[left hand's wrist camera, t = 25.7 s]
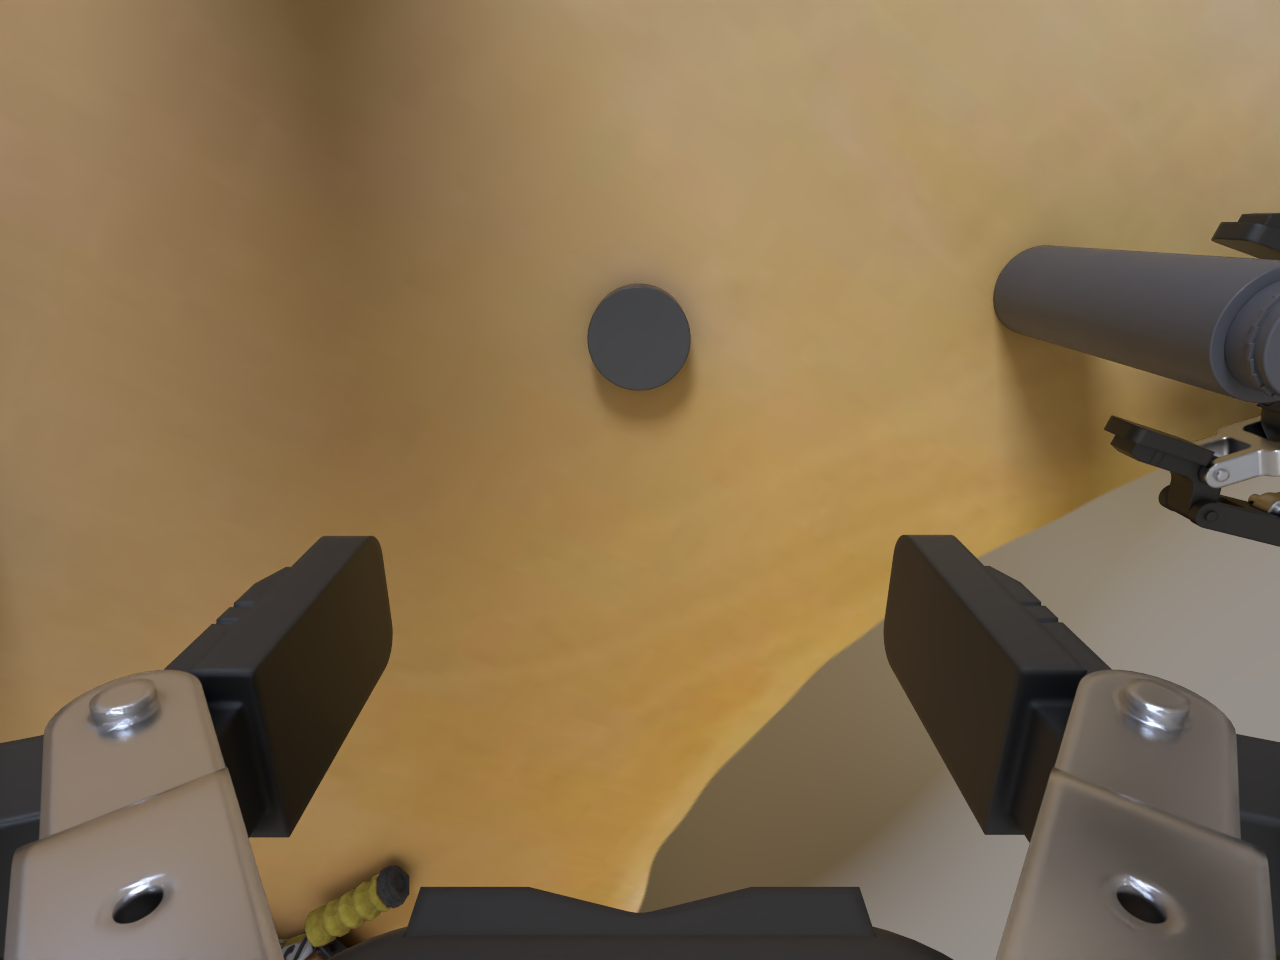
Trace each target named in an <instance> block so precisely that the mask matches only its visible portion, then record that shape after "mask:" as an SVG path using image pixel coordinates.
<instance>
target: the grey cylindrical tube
mask: <svg viewBox="0 0 1280 960" xmlns="http://www.w3.org/2000/svg"><path fill="white" fill-rule="evenodd" d="M994 307H995V311H996V313H997V316H998V317H999V319H1000V321H1001V322H1002V323H1003V324H1004V325H1005V326H1006V327H1007V328H1009V329H1010V330H1012V331H1014V332H1017V333H1020V334H1023V335H1027V336H1030V337H1033V338H1037V339H1040V340H1043V341H1047V342H1050V343H1053V344H1057V345H1060V346H1063V347H1067V348H1070V349H1073V350H1077V351H1080V352H1083V353H1087V354H1090V355H1093V356H1097V357H1100V358H1103V359H1107V360H1110V361H1113V362H1117V363H1120V364H1123V365H1127V366H1130V367H1133V368H1137V369H1140V370H1143V371H1147V372H1150V373H1153V374H1157V375H1160V376H1163V377H1167V378H1170V379H1173V380H1177V381H1180V382H1183V383H1187V384H1190V385H1193V386H1197V387H1200V388H1203V389H1207V390H1210V391H1213V392H1217V393H1220V394H1223V395H1227V396H1230V397H1233V398H1237V399H1240V400H1243V401H1247V402H1254V403H1265V402H1274V401H1278V400H1280V260H1266V259H1251V258H1235V257H1219V256H1204V255H1188V254H1172V253H1157V252H1141V251H1125V250H1110V249H1094V248H1078V247H1063V246H1037V247H1033V248H1030V249H1027V250H1025V251H1023V252H1021V253H1020V254H1018V255H1017V256H1016V257H1014V258H1013V259H1012V260H1011V261H1010V262H1009V263H1008V264H1007V265H1006V266H1005V268H1004V269H1003V270H1002V272H1001V274H1000V275H999V278H998V280H997V282H996V286H995V290H994Z"/></svg>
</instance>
